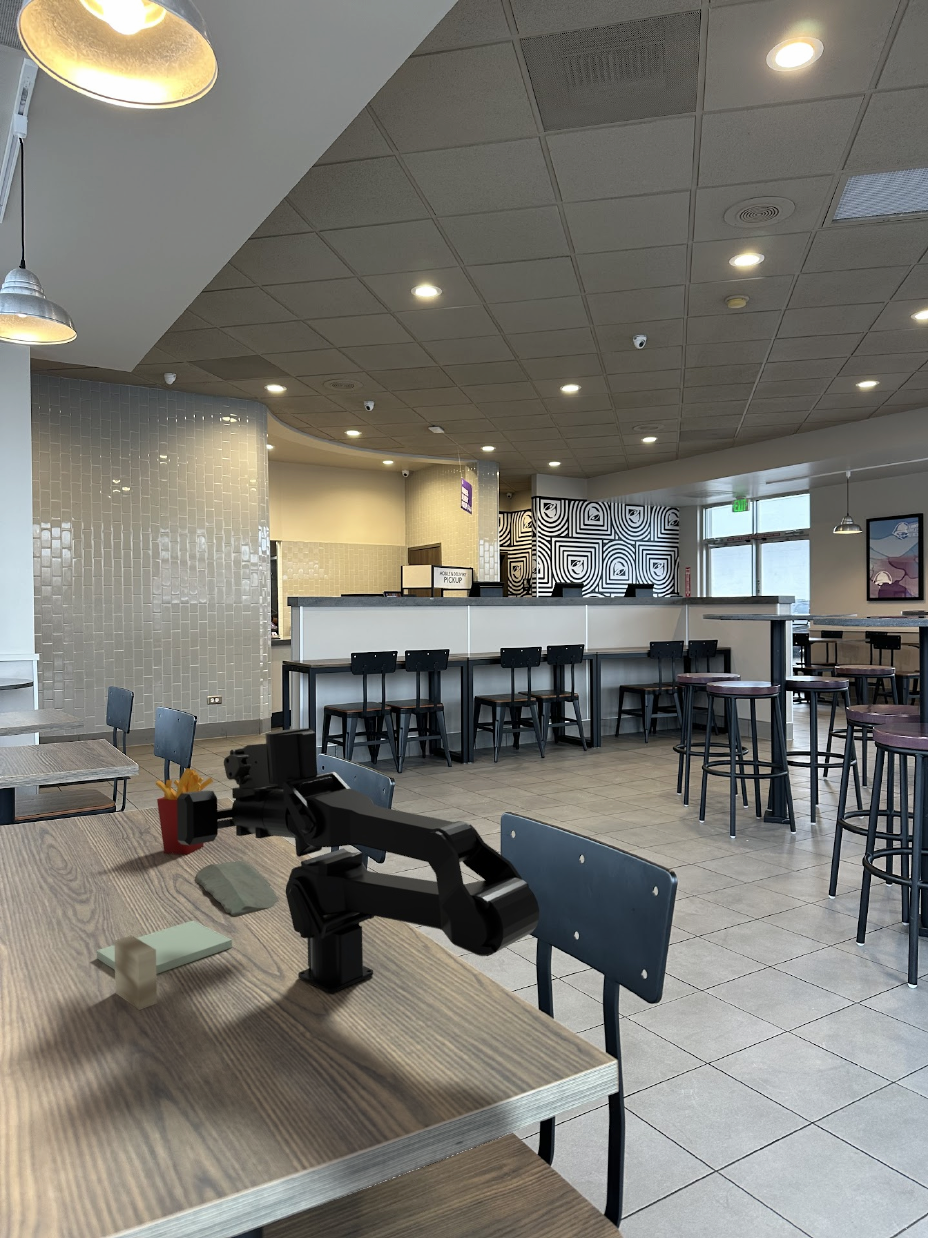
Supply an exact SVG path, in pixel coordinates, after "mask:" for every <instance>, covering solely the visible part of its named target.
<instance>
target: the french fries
mask: <svg viewBox="0 0 928 1238" xmlns="http://www.w3.org/2000/svg"><path fill="white" fill-rule="evenodd" d="M213 782H214V779H213V778H212V776H211V777H208V778H207V779H206V780H205V781H204V778H203V777H201V776H200V773H199V772H197V771H196V770H195V769H193V768H192V769H191V768H187V767H186V768H185V770H184V772H183V773H182V775H181V777H180V779H179V780H177V779H176V780H174V781H173V780H171V779H166V780H165V783H164V782H162V781H161V779H159V780H157V781H156V782H155V786H157V787H158V788H160V790H161V791H162V792H163V793H164V796H162V797H160V798H157V799H156V801H157V802H156V803H157V808H158V809H157V810H158V816H159V823H160V831H161V838H162V845H163V853H164V854H173V855H174V854H175V855H184V854H185V856H188V855H190V854H192V853H194V852H196V851H199V850H200V849H202V848H201V847H203V848H204V844H205V843H200V844H195V845H183V844H181V843H180V842H179V841H178V840H177V798H178V797H179V795H180V794H181V793H188V792H196V791H204V789H206V788H207V787H208V786H209V785H210V784H212V783H213ZM173 784H174V785H175V786H176V791H175V789H173V788H172V785H173ZM199 848H200V849H199ZM195 850H196V851H195Z"/></svg>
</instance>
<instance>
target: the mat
mask: <svg viewBox="0 0 928 1238" xmlns="http://www.w3.org/2000/svg"><path fill="white" fill-rule="evenodd" d="M136 938H137V939H139V940H140V941H142V942H144V943H146V944H147V945H149V946H151V947H152V948H154V949H156V975H158V974H160V973H164V972H166V971H170V970H171V969H172V970H173V969H175V968H177V967H180V966H183V965H185V964H186V965H187V964H189V963H192V962H195V961H198V960H201V959H203V958H205V957H208V956H211V955H214V954H217V953H221V952H223V951H226V950H229V949H231V948H233V939H232V938H229V937H227V936H225V935H224V934H222V933H219V932H218V931H215V930H214V929H212V928H209V927H207V926H205V925H203V924H201V923H200V922H198V921H196V920H190V921H187V922H183V923H180V924H177V925H174V926H171V927H168V928H164V929H160V930H157V931H155V932H152V933H148V934H145V935H142V936H139V937H136ZM96 958H97V960H99V961H100V962H101V963H103V964H105V965H106V966H107V967H110V968H111V969H112V970H114V971H115V949H114V944H112V945H110V946H106V947H105V948H104V947H103V948H101V949H97V950H96Z"/></svg>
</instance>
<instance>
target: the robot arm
mask: <svg viewBox="0 0 928 1238" xmlns="http://www.w3.org/2000/svg"><path fill="white" fill-rule="evenodd" d="M264 735H265V743H257V744H256V743H254V744H248V745H247V744H246V745H245V746H244V747H242V748H236V749H235V748H234V749H231V750H229V755H226V756H225V758H224V760H223V766H224V767H223V768H224V771H225V775H226V779H227V780H230V781H232V780H234V781H235V783H236V785H238V787H233V788H231V789H232V792H231V794H232V795H231V797H232V799H234V801H233V803H232V806H231V808H230V807H228V808H223V809H218V797H217V795H216V794H215V792H214V790H201V791H196V792H188V793H181V794H180V795H179V797H178V798H177V840H178V841H179V842H180V843H181V844H183V845H195V844H200V843H204V844H205V843H210V842H214V841H215V840H216V838H217V837H218V834H219V832H218V831H219V829H224V828H225V829H227V828H231V827H235V829H236V831H235V833H236V834H235V836H236V837H244V836H249V835H255V839H266V838H269V837H281V838H290V839H294V844H295V852H296V857H298V858H301V857H305V856H306V855H310V854H313V853H317V852H320V851H322V849H323V848H336V847H345V846H362V847H367V848H370V849H373V850H378V851H382V852H386V853H388V854H389V853H390V854H394V855H398V856H402V857H405V858H410V859H414V860H418V861H421V862H426V863H428V864H429V866H430V868H431V870H432V871H433V872H434V874H435V879H436V881H435V880H429V879H428V880H427V879H420V878H416V877H408V876H401V875H396V874H395V875H394V874H390V873H389V874H388V873H381V872H375V871H370V870H368V869H367V868H366V866H365V865H364V862H363V852H362V851H357V852H351V851H348V850H347V849H345V848H340V849H336V850H333V851H331V852H328V853H324V854H321V855H318V856H315V857H311V858H308V859H305V860H302V861H300V864H301V865H299V866H295V867H293V868H291V870H290V874H289V877H288V881H287V883H286V885H285V895H286V896H285V897H286V900H287V904H288V908H289V914H290V917H291V922H292V926H293V930H294V931H295V932H296V933H299V934H300V938H302V939H307V966H308V968H307V969H303V970H301V971H299V972H298V973H297V974H298V975H297V977H298V978H299V979H300V980H302V981H304V982H306V983H308V984H310V985H312V986H314V987H316V988H318V989H320V990H322V991H324V992H326V993H328V994H334V993H336V992H338V991H341V990H343V989H346V988H347V987H349V986H353V985H354V984H356V983H359V982H361V981H363V980H365V979H369V978H370V977H373V976H374V970H373V969H372V968H369V967H368V966H365V965H364V959H363V958H364V957H363V955H364V953H363V951H364V948H363V946H364V945H363V926H362V925H360V923H363V922H365V921H368V920H372V919H374V918H375V917H376V918H377V917H378V918H383V919H388V920H392V921H397V922H402V923H408V924H412V925H417V926H423V927H427V928H431V929H437V930H440V931H442V932H443V933H444V935H445V936H446V937H447V938H448V940H449V942H451V944H452V945H454V946H456V947H458V948H460V949H462V950H464V951H467V952H468V953H470V954H471V953H472V954H473V955H475V956H478V957H489V956H492V955H494V954H495V953H497V952H500V950H503V949H505V948H506V947H509V946H510V945H512V944H514V943H516V942H518V941H520V940H521V939H522V938H524V937H526V936H529V935H530V934H532V933H533V932H534V930H536V928H537V926H538V923H539V921H540V908H539V903H538V900H537V898H536V896H535V893H534V892H533V890H532V889H531V888H530V885H529V883H528V882H526V881H525V880H524V879H523V878H522V876H521V875H520V874H519V872H518V870H517V869H516V868H515V866H514V864H513V863H512V862H511V861H510V860H509V859H507V858H506V857H504V856H503V855H502V854H500V853H499V852H498V851H496V850H495V849H493V847H491V846H490V845H489V844H487V843H486V842H485V841H484V840H483V838H482V837H481V835H480V833H479V832H478V831H477V829H476V828H475V827H474V826H473V825H472V824H471V823H469V822H465V821H462V820H456V821H452V820H451V821H450V820H446V819H441V818H436V817H431V816H426V815H421V814H418V813H417V814H416V813H411V812H406V811H402V810H396V809H392V808H387V807H384V806H383V807H382V806H379V805H377V804H375V803H374V801H373V800H372V798H370V796H368V795H366V794H364V793H362V792H359V791H357V790H355V789H354V788H353V789H352V788H351V787H350V786H349V785H348V784H347V783H346V782H345V781H344V780H343V779H342V778H341V776H339V774H338V773H336V772H335V771H330V772H325V773H320V772H318V763H317V762H318V761H317V751H316V749H317V748H316V747H317V738H316V737H317V736H316V732H315V731H313V729H310V727H309V728H307V727H306V728H293V729H292V728H291V729H284V730H283V729H282V730H276V731H275V730H274V731H270V732H265V734H264ZM461 862H462V863H463V864H464V865H465V867H467V868H469V869H470V870H471V871H473V873H474V874H476V875H478V876H479V877H480V878H482V879H483V880H480V881H474V882H470V883H469V882H468V883H465V884H464V880H463V879H464V878H463V874H462V868H461Z"/></svg>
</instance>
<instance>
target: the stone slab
mask: <svg viewBox="0 0 928 1238" xmlns="http://www.w3.org/2000/svg"><path fill="white" fill-rule="evenodd" d="M194 882H195V883H197V884H199V885H200V886H202V887H203V889H204V890H205V892H208V893H209V894H210V895H212V897H213V898H214V899H215V900H216V901H217V902H218V903H219V904H221V907H223V909H224V911H225V913H227V914H231V916H233V917H239V916H243V915H244V916H245V915H249V914H252V913H256V912H259V911H262V910H263V911H264V910H268V909H271V908H273V907H274V906H275V904H276V903H278V902H279V901H280V900H279V897H278V896H277V894H276V893H275V890H274V889H273V888H272V887H271V886H272V884H271V883H270V882H269V881H268V879H266V878H265V876H264V875H262V874H261V873H260V872H259V870H258V869H257V868H256V867H255V866H254V865H253V864H251V863H248V862H245V861H243V860H235V861H228V862H221V863H213V864H212V863H210V864H208V865H206V866H204V867H202V868H201V869H200V870H198V871H197V873H196V874H195V876H194Z"/></svg>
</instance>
